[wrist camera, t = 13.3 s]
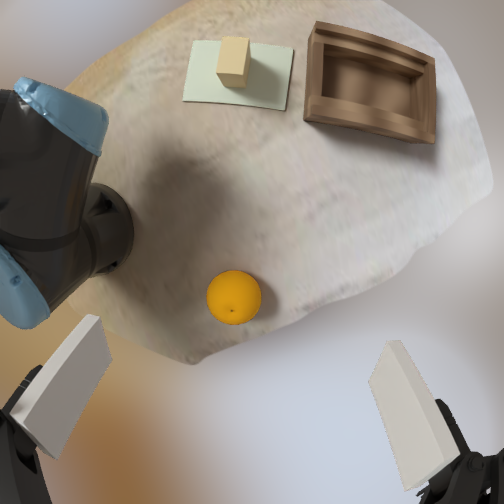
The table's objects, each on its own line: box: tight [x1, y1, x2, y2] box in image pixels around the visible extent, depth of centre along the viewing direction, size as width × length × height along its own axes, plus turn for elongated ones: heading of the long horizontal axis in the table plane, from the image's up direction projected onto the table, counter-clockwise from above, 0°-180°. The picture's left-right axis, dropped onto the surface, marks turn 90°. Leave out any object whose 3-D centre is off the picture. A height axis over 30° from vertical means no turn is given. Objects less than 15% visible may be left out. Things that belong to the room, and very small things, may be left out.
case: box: [303, 21, 436, 144], centre depth 28 cm, size 17×13×6 cm
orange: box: [206, 270, 261, 325], centre depth 39 cm, size 8×8×8 cm
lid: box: [182, 36, 293, 111], centre depth 27 cm, size 14×10×8 cm
